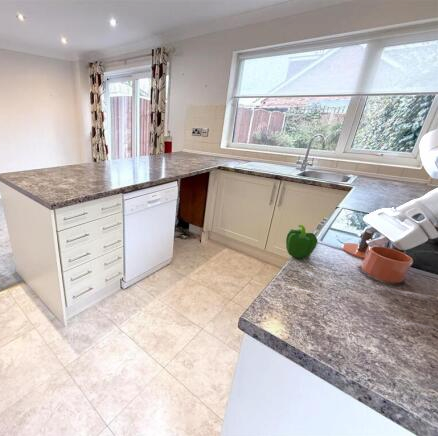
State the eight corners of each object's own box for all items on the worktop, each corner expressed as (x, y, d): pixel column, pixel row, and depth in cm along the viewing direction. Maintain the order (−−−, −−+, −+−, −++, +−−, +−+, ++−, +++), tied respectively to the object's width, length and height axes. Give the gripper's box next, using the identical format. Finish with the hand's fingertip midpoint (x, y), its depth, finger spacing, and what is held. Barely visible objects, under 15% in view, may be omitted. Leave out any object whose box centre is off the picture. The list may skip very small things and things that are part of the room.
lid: (371, 249, 86) (380, 228, 83) (386, 264, 77) (397, 241, 74) (337, 243, 89) (345, 223, 86) (348, 257, 80) (357, 235, 77)
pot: (391, 269, 75) (401, 249, 72) (409, 287, 67) (421, 265, 64) (355, 262, 78) (363, 243, 75) (368, 279, 70) (378, 258, 67)
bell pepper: (314, 264, 76) (324, 235, 72) (284, 258, 79) (293, 230, 75) (308, 251, 84) (317, 224, 80) (281, 246, 86) (288, 220, 82)
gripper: (387, 199, 84) (344, 221, 91) (431, 222, 66) (374, 247, 72) (397, 213, 85) (354, 234, 91) (444, 239, 67) (386, 263, 73)
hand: (363, 240), depth 82 cm, fingers open, 4 cm apart
